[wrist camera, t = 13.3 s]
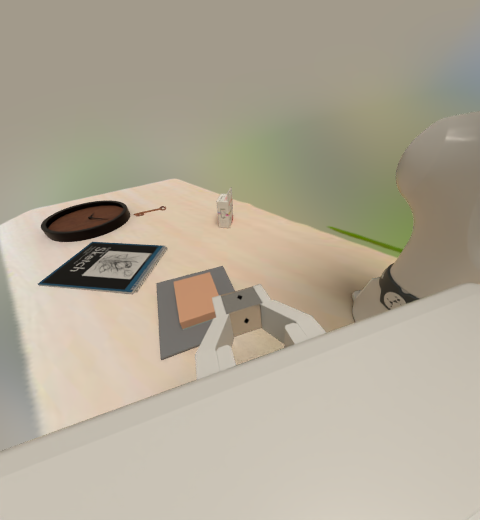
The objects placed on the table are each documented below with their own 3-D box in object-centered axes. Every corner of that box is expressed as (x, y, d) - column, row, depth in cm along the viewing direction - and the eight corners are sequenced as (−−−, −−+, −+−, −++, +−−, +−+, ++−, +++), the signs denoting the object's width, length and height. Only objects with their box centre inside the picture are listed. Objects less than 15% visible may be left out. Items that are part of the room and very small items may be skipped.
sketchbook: (94, 244, 69) (91, 240, 68) (169, 249, 66) (167, 244, 65) (40, 286, 52) (35, 282, 51) (136, 295, 50) (134, 290, 48)
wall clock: (34, 216, 78) (111, 195, 96) (41, 224, 80) (115, 203, 98) (49, 243, 62) (138, 212, 80) (57, 252, 64) (142, 221, 82)
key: (135, 219, 85) (168, 211, 90) (135, 217, 84) (167, 210, 89) (133, 213, 88) (165, 206, 94) (133, 211, 87) (164, 205, 93)
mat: (222, 267, 58) (222, 265, 57) (251, 326, 42) (251, 324, 42) (157, 284, 52) (156, 283, 52) (161, 360, 37) (160, 358, 36)
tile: (224, 315, 44) (211, 279, 53) (223, 308, 42) (209, 272, 51) (182, 329, 41) (176, 289, 50) (179, 322, 39) (173, 281, 48)
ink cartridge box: (222, 218, 83) (220, 185, 74) (233, 219, 83) (232, 186, 73) (218, 227, 77) (215, 193, 67) (229, 228, 76) (228, 194, 67)
